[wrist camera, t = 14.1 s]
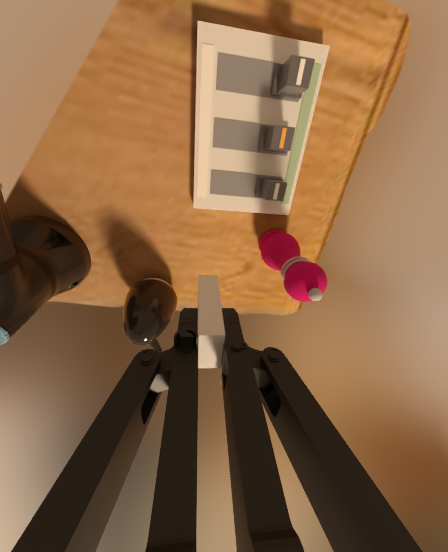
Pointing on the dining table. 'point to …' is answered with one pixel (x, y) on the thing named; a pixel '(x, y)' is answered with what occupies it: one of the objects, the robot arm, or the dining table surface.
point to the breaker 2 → (292, 77)
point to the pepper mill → (292, 266)
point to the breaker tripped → (276, 138)
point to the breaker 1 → (270, 188)
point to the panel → (247, 116)
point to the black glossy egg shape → (148, 311)
